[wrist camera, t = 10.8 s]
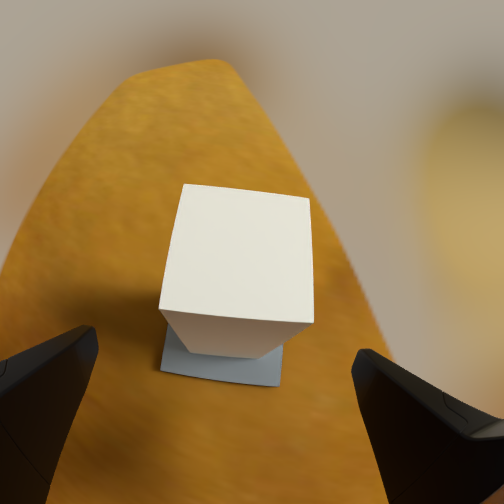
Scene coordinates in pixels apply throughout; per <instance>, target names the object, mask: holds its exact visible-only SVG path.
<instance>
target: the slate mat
mask: <svg viewBox="0 0 504 504" xmlns="http://www.w3.org/2000/svg"><path fill="white" fill-rule="evenodd" d="M282 353H283V344H281V345H280V346H278V347H277V348H275V349H274V350H272V351H271V352H269V353H267V354H266V355H264V356H263V357H261V358H259V359H251V358H237V357H225V356H215V355H205V354H196V353H190V352H189V350H188V349H187V348H186V346H185V345H184V344H183V342H182V341H181V340H180V338H179V337H178V335H177V334H176V333H175V331H174V330H173V329H172V327H171V326H170V324H169V323H168V327H167V333H166V339H165V344H164V350H163V356H162V362H161V369H160V370H161V371H166V372H171V373H176V374H181V375H187V376H193V377H199V378H205V379H212V380H219V381H226V382H234V383H243V384H252V385H263V386H275V387H279V386H280V376H281V365H282Z"/></svg>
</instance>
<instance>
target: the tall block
mask: <svg viewBox="0 0 504 504" xmlns="http://www.w3.org/2000/svg"><path fill="white" fill-rule="evenodd" d="M159 310H160V311H161V313H162V314H163V316H164V317H165V319H166V320H167V321H168V323H169V324H170V326H171V327H172V329H173V330H174V331H175V333H176V334H177V335H178V337H179V338H180V340H181V341H182V342H183V344H184V345H185V346H186V348H187V349H188V350H189V352H190V353H196V354H205V355H215V356H225V357H237V358H251V359H259V358H261V357H263V356H264V355H266V354H267V353H269V352H271V351H272V350H274V349H275V348H277V347H278V346H280V345H281V344H283V343H285V342H286V341H288V340H289V339H291V338H292V337H294V336H295V335H297V334H298V333H300V332H301V331H303V330H304V329H306V328H307V327H309V326H310V325H311V324H313V323H314V296H313V261H312V238H311V220H310V205H309V198H302V197H295V196H288V195H281V194H274V193H266V192H258V191H250V190H241V189H232V188H223V187H213V186H202V185H191V184H184V186H183V190H182V194H181V198H180V202H179V207H178V211H177V215H176V220H175V224H174V229H173V234H172V238H171V243H170V248H169V253H168V258H167V263H166V268H165V274H164V279H163V285H162V291H161V297H160V303H159Z"/></svg>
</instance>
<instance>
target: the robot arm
mask: <svg viewBox="0 0 504 504" xmlns="http://www.w3.org/2000/svg"><path fill="white" fill-rule="evenodd" d="M98 350H99V346H98V341H97V335H96V330H95V328H94V327H93V326H89V325H81V326H79V327H77V328H74V329H72V330H70V331H68V332H65V333H63V334H61V335H59V336H57V337H54V338H52V339H50V340H48V341H45V342H43V343H41V344H39V345H36V346H34V347H32V348H30V349H27V350H25V351H23V352H21V353H19V354H16V355H14V356H12V357H10V358H8V359H5V360H3V361H1V362H0V504H45V503H46V500H47V496H48V493H49V489H50V485H51V482H52V479H53V476H54V472H55V469H56V466H57V463H58V460H59V457H60V455H61V452H62V449H63V446H64V443H65V441H66V438H67V435H68V433H69V430H70V428H71V425H72V422H73V420H74V417H75V415H76V412H77V410H78V408H79V405H80V403H81V400H82V398H83V396H84V393H85V391H86V388H87V386H88V383H89V380H90V376H91V373H92V370H93V367H94V364H95V361H96V358H97V355H98ZM351 373H352V378H353V382H354V387H355V391H356V396H357V400H358V405H359V408H360V412H361V415H362V418H363V421H364V424H365V427H366V430H367V433H368V436H369V439H370V442H371V445H372V448H373V452H374V455H375V458H376V461H377V465H378V468H379V471H380V475H381V478H382V481H383V485H384V488H385V492H386V495H387V499H388V502H389V504H504V419H500V418H496V417H494V416H491V415H489V414H487V413H485V412H483V411H480V410H478V409H476V408H474V407H472V406H469V405H468V404H466V403H463V402H461V401H460V400H458V399H456V398H454V397H452V396H450V395H449V394H447V393H445V392H442V390H440V389H438V388H436V387H434V386H433V385H431V384H429V383H428V382H426V381H424V380H422V379H421V378H419V377H417V376H416V375H414V374H412V373H410V372H409V371H407V370H405V369H404V368H402V367H400V366H399V365H397V364H395V363H394V362H392V361H390V360H388V359H387V358H385V357H383V356H382V355H380V354H378V353H377V352H375V351H373V350H372V349H360V350H359V351H358V352H357V355H356V358H355V360H354V363H353V365H352V369H351Z"/></svg>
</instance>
